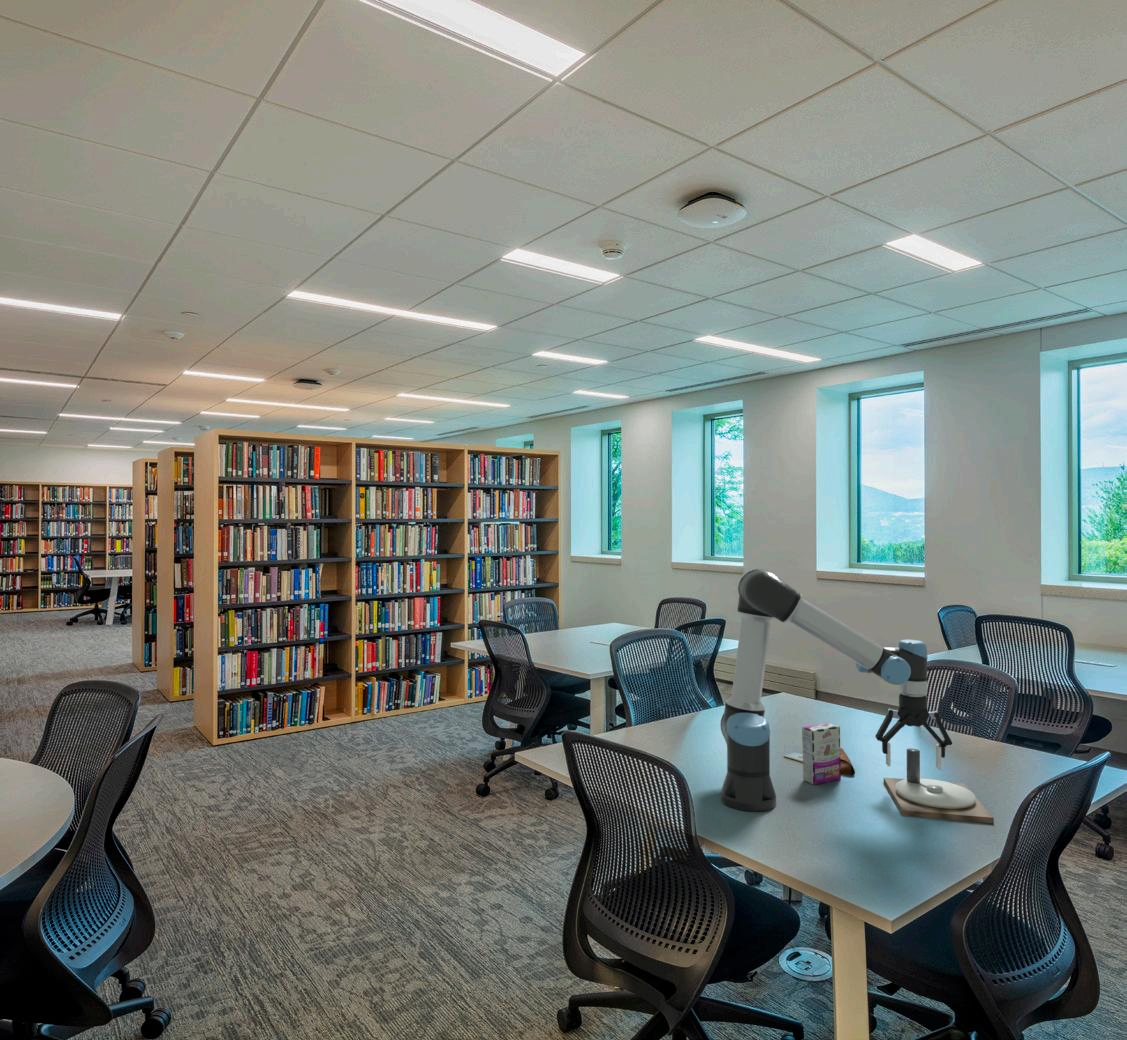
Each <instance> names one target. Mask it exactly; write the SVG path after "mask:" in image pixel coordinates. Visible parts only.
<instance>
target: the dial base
mask: <svg viewBox="0 0 1127 1040" xmlns="http://www.w3.org/2000/svg"><path fill="white" fill-rule="evenodd" d="M905 779H906V778H894V777H883V784H884V786H885V788H886V790H887V791H888V792H889V795H890V796H891V798H892V799H893V801H894V804H895V805H896V807H897V809H898V810H899V812H900V814H901V816H903V817H913V818H914V817H915V818H926V819H936V820H937V819H938V820H939V819H940V820H949V821H960V822H974V823H975V822H976V823H983V824H984V823H986V824H994V822H995V821H994V820H995V819H994V817H993V815H992V814H991V813H990V811H988V809H986V807H985V806H984V805H983V804H982V803H981V802H980V800H979V799H978V798H977V797H976V796H975V804H974V805H972V806H970V807H967V808H960V809H946V808H936V807H930V806H926V805H921V804H918V803H915V802H912V801H909V800H907V799H905V798H903V797H901V796H900V795H898V794H897V792H896V783H897V782H899V781H901V780H905ZM948 782H949V781H948ZM949 783H953V784H956V785H959V786H962V787H964V788H966V789H968V790H970V789H969V787H967V786H966V784H965V783H961V782H952V781H951V782H949Z"/></svg>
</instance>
